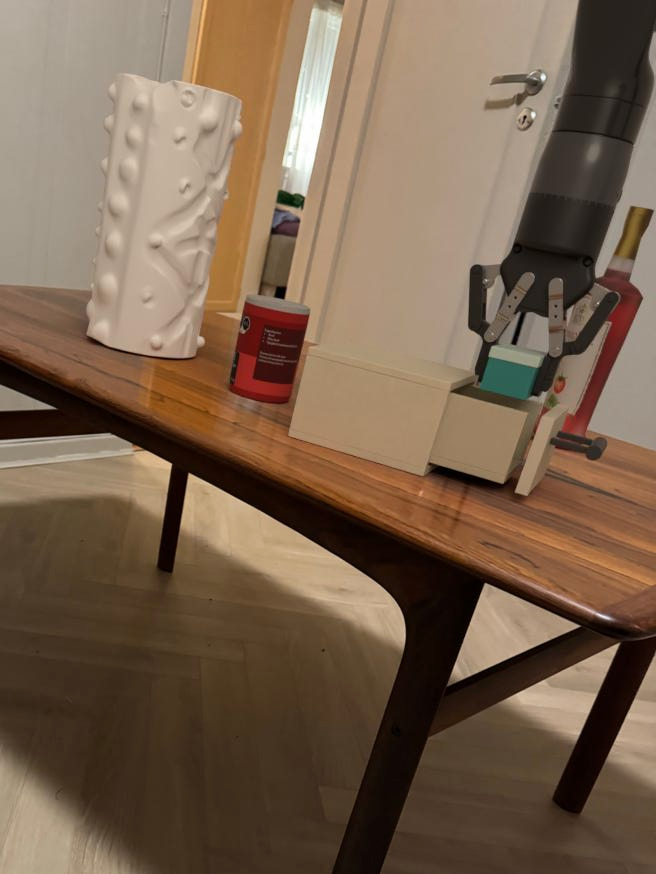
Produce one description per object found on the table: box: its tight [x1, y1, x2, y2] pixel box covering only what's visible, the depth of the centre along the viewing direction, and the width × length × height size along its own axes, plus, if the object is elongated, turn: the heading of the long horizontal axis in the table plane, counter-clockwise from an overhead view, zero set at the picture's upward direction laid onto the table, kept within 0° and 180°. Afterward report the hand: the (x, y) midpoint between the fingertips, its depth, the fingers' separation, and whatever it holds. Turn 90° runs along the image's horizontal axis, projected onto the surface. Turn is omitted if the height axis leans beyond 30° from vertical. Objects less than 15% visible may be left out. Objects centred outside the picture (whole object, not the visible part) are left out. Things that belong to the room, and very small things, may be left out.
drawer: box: [429, 384, 608, 497], centre depth 90 cm, size 18×11×7 cm, turn 61°
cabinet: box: [287, 340, 479, 477], centre depth 94 cm, size 15×13×9 cm
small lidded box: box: [479, 342, 548, 400], centre depth 87 cm, size 5×7×4 cm
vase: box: [85, 72, 243, 359], centre depth 120 cm, size 17×16×32 cm
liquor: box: [533, 205, 655, 451], centre depth 111 cm, size 7×7×28 cm
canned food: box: [228, 294, 312, 404], centre depth 109 cm, size 8×8×11 cm
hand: (509, 388), depth 88 cm, fingers closed on small lidded box, 4 cm apart
